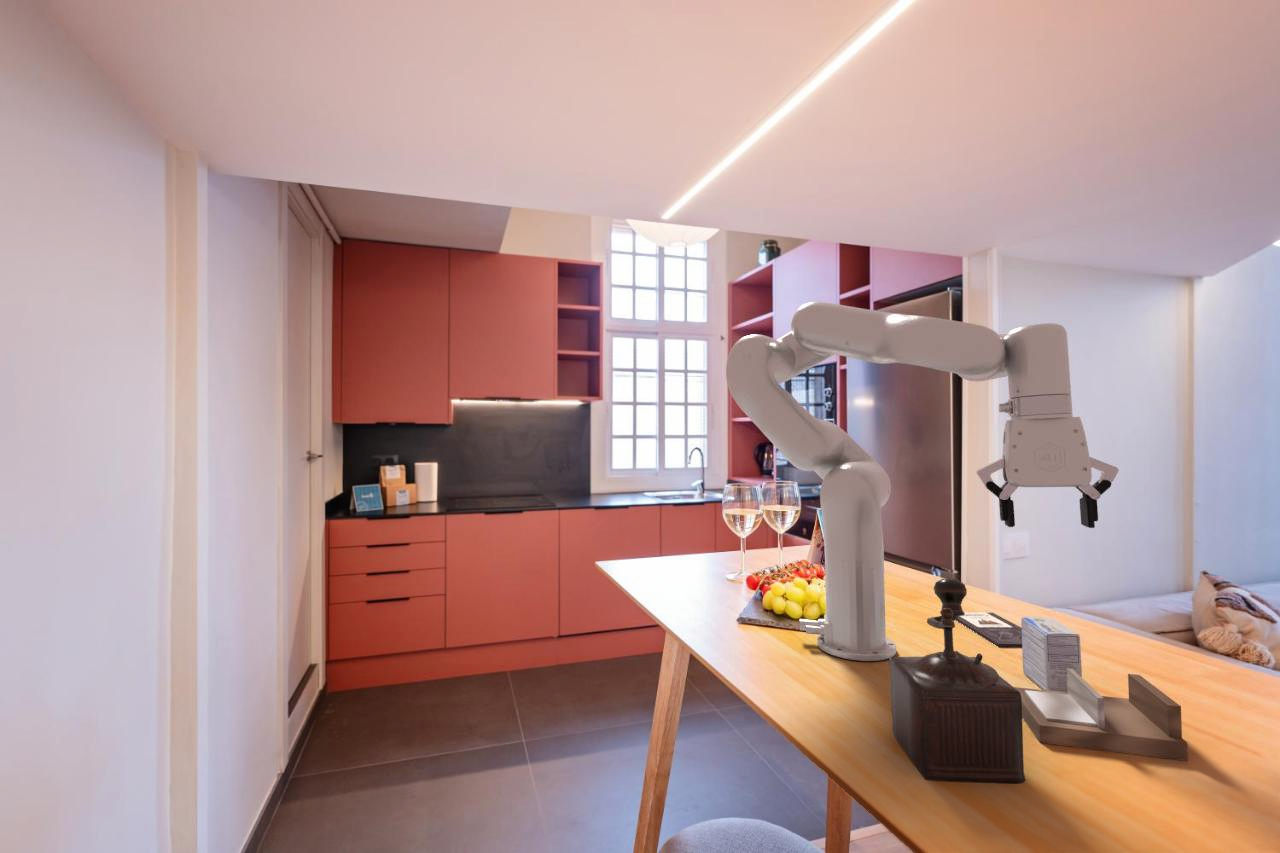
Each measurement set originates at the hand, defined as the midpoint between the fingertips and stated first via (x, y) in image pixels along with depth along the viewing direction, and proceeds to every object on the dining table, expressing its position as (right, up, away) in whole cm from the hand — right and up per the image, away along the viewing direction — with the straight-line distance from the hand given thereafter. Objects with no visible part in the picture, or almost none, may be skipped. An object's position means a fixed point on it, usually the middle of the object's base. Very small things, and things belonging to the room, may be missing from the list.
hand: (1048, 526), depth 85 cm
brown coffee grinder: (-24, -23, -17) cm, 37 cm away
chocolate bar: (+6, -24, +23) cm, 34 cm away
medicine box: (0, -23, -1) cm, 23 cm away
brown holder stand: (-4, -22, -14) cm, 27 cm away
